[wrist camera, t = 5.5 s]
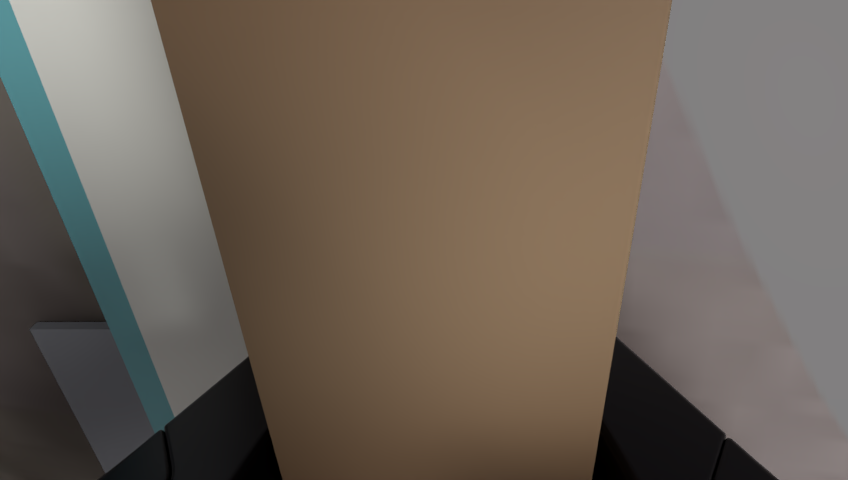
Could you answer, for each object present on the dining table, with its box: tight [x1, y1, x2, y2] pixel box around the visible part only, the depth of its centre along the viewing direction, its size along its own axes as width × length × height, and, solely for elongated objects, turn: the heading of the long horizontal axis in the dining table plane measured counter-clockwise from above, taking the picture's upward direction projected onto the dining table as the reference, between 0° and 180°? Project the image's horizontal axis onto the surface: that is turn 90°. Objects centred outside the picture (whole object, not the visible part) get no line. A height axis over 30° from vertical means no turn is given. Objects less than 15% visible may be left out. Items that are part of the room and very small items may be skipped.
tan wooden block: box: [151, 0, 672, 480], centre depth 7 cm, size 14×3×5 cm, turn 3°
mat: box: [29, 322, 155, 474], centre depth 23 cm, size 16×7×1 cm, turn 3°
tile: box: [0, 0, 248, 433], centre depth 12 cm, size 12×2×8 cm, turn 3°
